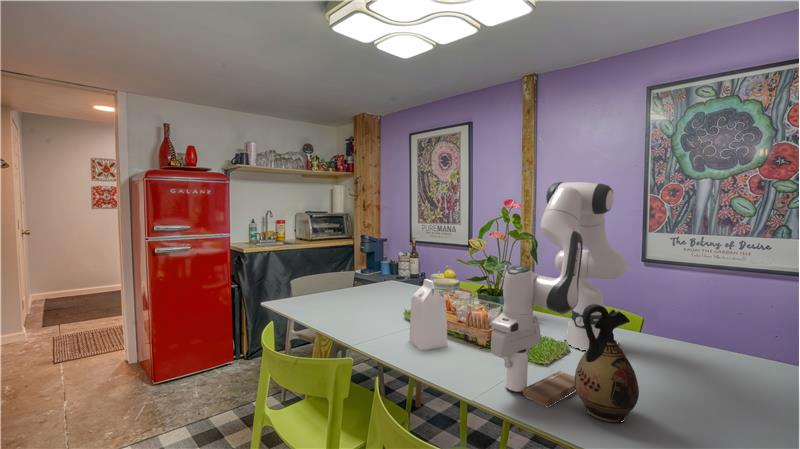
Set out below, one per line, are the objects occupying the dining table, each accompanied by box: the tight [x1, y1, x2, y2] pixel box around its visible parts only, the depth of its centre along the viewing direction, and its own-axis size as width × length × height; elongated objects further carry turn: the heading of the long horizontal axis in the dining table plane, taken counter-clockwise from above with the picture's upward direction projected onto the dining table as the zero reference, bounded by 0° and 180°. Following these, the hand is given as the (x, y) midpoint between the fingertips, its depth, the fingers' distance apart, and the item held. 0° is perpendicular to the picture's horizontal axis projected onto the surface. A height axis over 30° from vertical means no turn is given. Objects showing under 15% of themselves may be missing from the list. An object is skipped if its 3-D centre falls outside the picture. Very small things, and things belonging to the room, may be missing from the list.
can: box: [504, 349, 529, 393], centre depth 116 cm, size 6×6×12 cm
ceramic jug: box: [574, 304, 640, 423], centre depth 103 cm, size 17×15×30 cm
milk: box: [408, 278, 448, 351], centre depth 154 cm, size 12×12×26 cm
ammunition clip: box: [463, 312, 490, 344], centre depth 155 cm, size 11×2×12 cm, turn 55°
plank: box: [522, 370, 576, 408], centre depth 116 cm, size 20×8×2 cm, turn 127°
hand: (516, 364), depth 116 cm, fingers closed on can, 6 cm apart
